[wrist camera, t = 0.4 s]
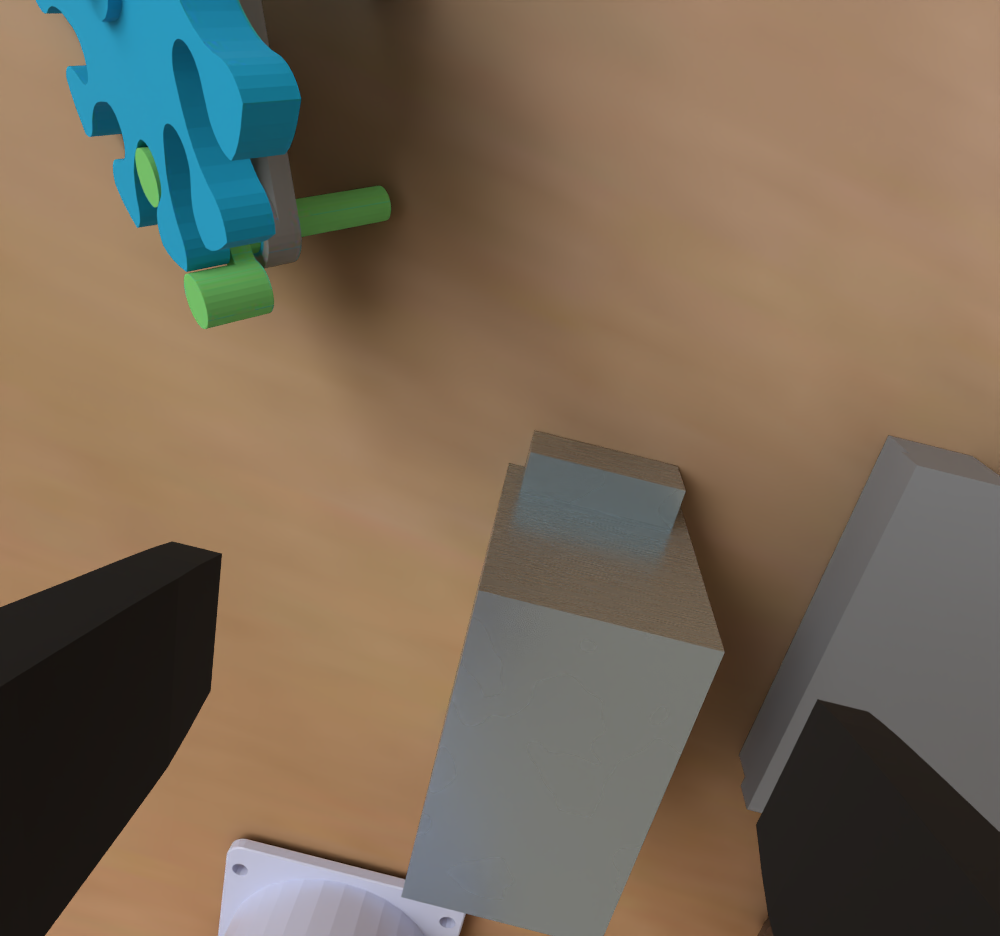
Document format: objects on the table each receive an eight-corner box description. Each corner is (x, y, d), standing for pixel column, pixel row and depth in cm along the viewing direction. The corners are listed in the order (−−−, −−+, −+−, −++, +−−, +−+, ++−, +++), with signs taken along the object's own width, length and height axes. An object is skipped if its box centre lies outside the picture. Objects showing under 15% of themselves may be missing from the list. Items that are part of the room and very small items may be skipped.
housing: (584, 770, 22) (586, 975, 16) (440, 734, 22) (393, 927, 16) (693, 470, 18) (744, 604, 12) (518, 426, 18) (491, 541, 12)
